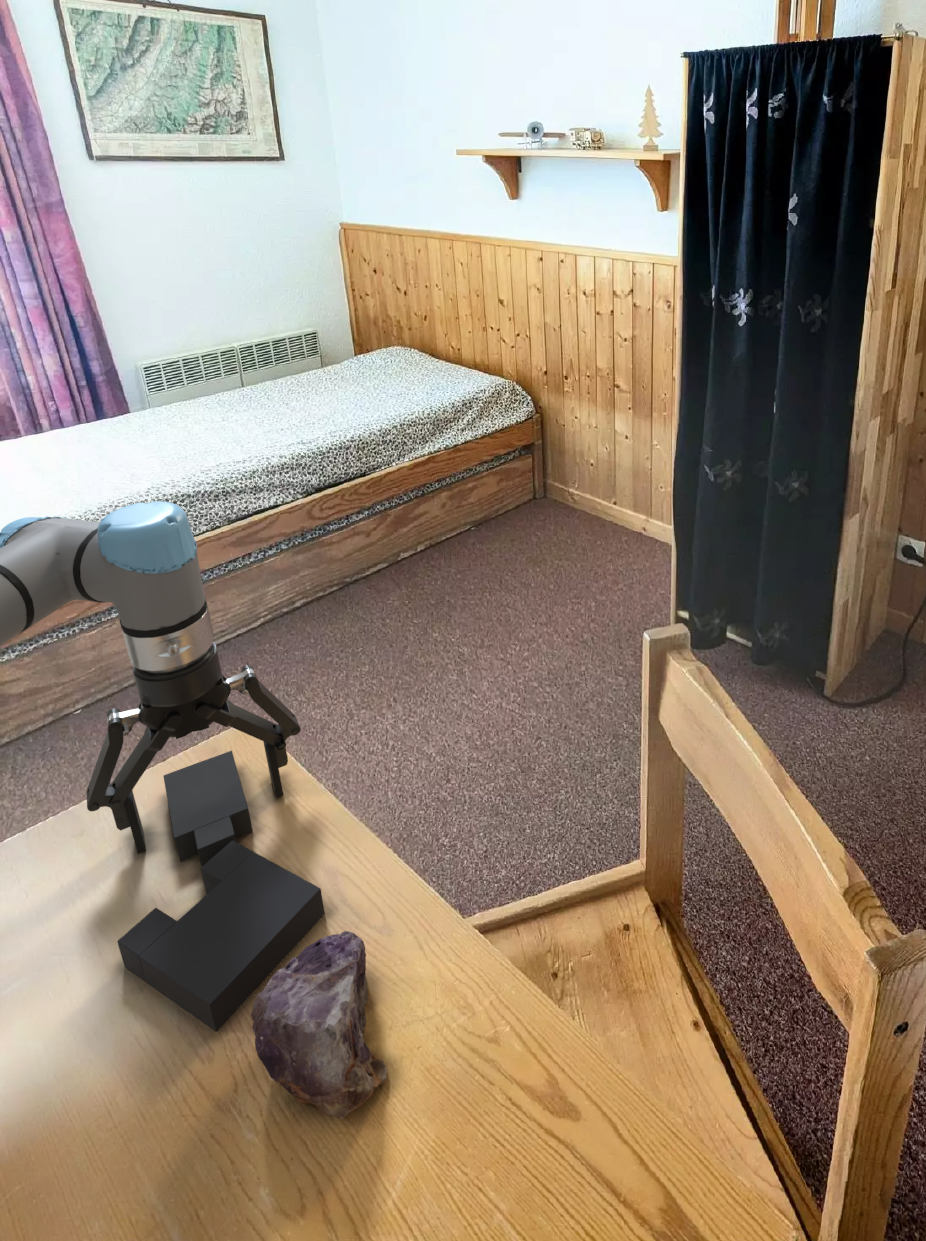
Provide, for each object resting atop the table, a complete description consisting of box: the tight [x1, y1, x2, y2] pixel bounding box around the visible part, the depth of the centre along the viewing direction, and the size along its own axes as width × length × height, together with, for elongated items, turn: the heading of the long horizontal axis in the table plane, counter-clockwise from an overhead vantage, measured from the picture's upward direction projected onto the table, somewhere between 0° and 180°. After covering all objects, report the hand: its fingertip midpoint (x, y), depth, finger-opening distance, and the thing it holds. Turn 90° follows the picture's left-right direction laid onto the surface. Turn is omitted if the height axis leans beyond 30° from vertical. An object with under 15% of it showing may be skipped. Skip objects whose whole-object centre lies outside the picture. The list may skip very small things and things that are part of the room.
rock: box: [250, 930, 389, 1120], centre depth 63 cm, size 12×9×10 cm
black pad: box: [163, 750, 254, 867], centre depth 85 cm, size 13×7×4 cm, turn 33°
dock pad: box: [116, 840, 326, 1033], centre depth 73 cm, size 12×12×4 cm
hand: (212, 816), depth 87 cm, fingers open, 13 cm apart
